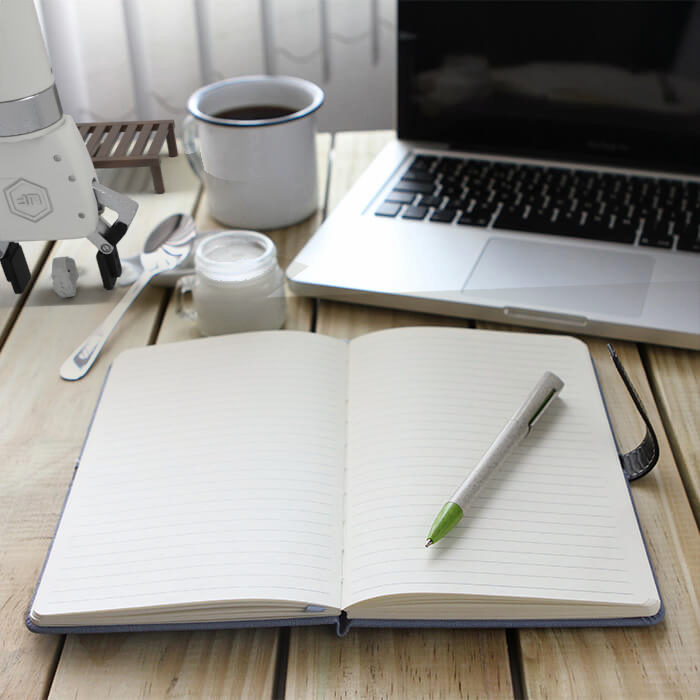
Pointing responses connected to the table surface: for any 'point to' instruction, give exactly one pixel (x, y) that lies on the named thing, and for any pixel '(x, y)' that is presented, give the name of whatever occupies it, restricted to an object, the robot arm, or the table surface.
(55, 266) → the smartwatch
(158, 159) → the rack
